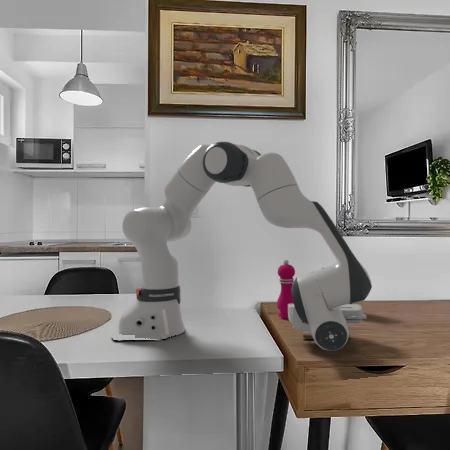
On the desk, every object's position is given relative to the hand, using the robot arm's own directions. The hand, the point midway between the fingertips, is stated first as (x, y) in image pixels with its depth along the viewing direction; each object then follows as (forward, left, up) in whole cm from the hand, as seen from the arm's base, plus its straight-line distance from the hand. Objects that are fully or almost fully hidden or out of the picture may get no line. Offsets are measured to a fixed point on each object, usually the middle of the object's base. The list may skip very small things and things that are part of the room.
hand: (322, 306), depth 113 cm
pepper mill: (-4, +20, -8) cm, 22 cm away
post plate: (0, -1, -8) cm, 8 cm away
